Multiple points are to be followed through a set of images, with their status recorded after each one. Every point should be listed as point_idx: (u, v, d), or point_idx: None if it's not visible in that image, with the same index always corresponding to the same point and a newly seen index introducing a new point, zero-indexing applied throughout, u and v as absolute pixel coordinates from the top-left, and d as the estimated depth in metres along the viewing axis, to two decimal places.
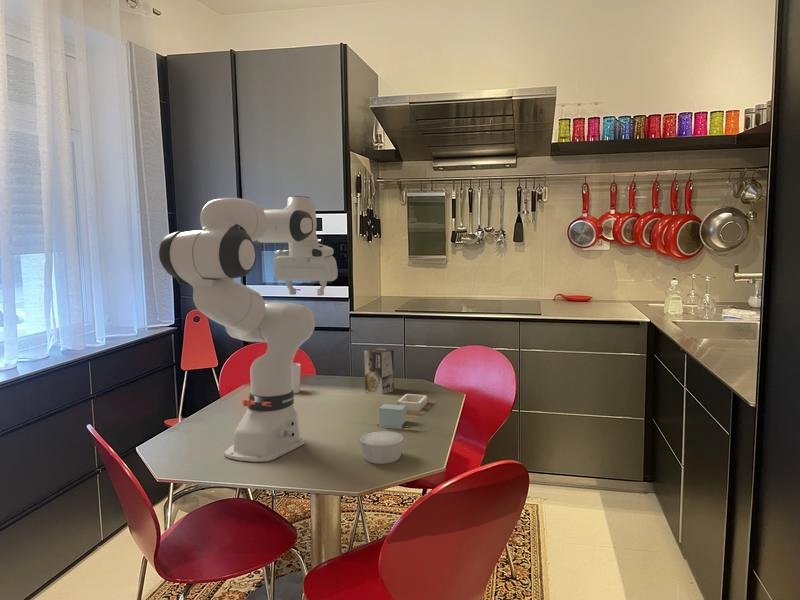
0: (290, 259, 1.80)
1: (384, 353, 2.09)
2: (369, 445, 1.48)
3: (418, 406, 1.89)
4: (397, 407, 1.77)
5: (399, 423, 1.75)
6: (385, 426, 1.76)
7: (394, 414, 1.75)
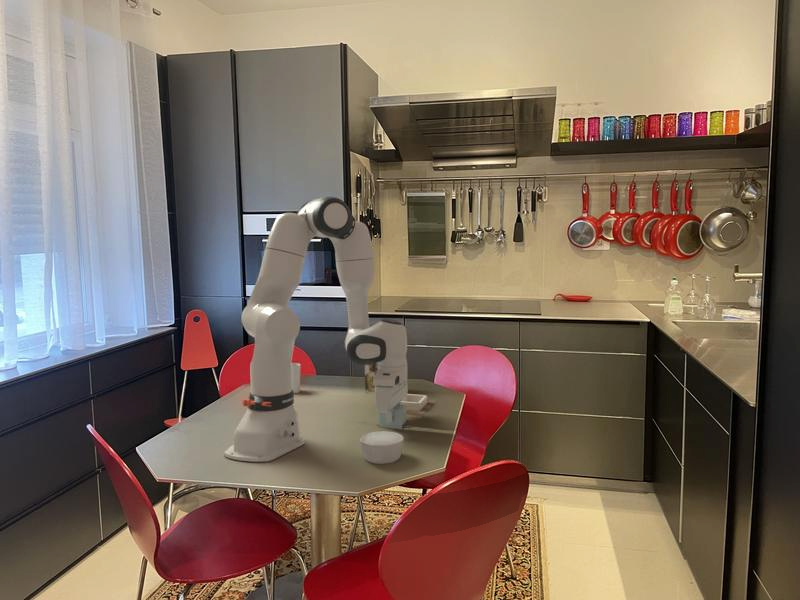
0: None
1: None
2: (369, 445, 1.48)
3: (418, 406, 1.89)
4: (397, 406, 1.77)
5: (399, 423, 1.75)
6: (385, 426, 1.76)
7: (394, 414, 1.75)
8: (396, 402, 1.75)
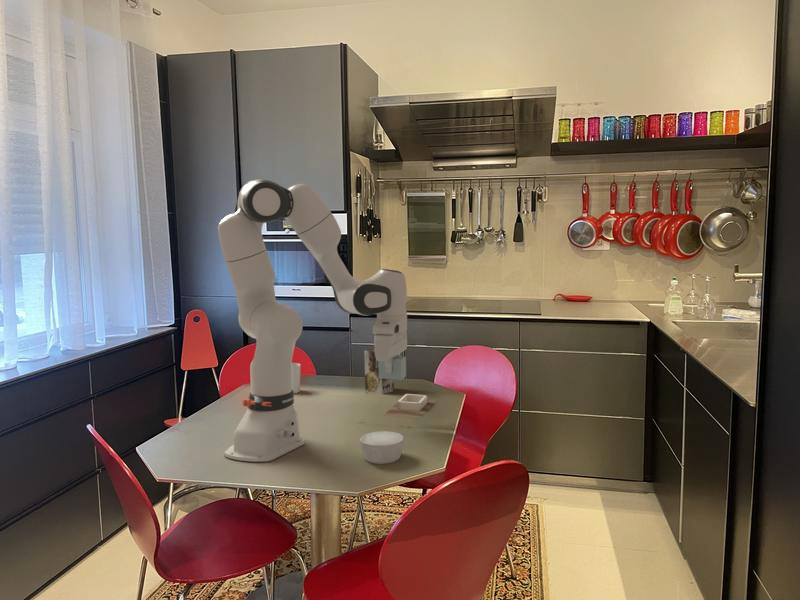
0: None
1: None
2: (369, 445, 1.48)
3: (418, 406, 1.89)
4: (397, 357, 1.75)
5: (399, 373, 1.73)
6: (384, 377, 1.75)
7: (394, 364, 1.73)
8: (395, 352, 1.73)
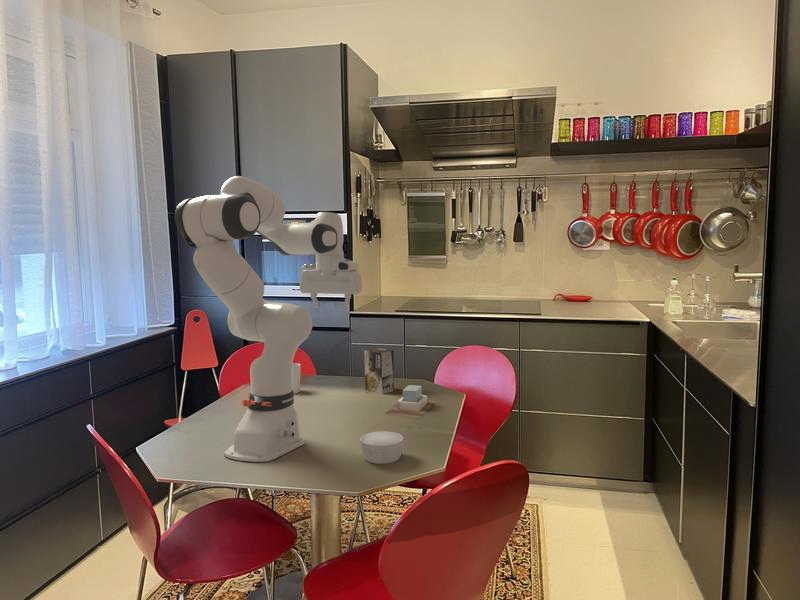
0: (316, 272, 1.87)
1: (384, 353, 2.09)
2: (369, 445, 1.48)
3: (418, 406, 1.89)
4: (413, 386, 1.96)
5: None
6: None
7: (420, 392, 1.95)
8: None
